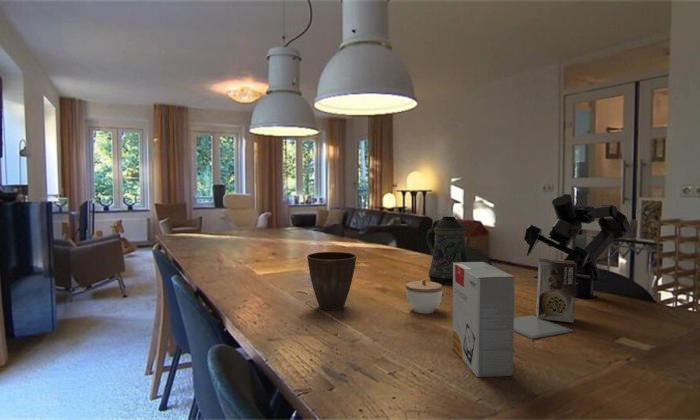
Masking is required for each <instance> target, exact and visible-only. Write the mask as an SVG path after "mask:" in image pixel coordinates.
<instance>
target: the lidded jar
mask: <svg viewBox="0 0 700 420" xmlns="http://www.w3.org/2000/svg"><path fill="white" fill-rule="evenodd" d="M421 280H422V281H421ZM421 280H417V281H410V282H407V283H406V284H405V294H406V300H407V303H408V305H409V307H410V308H411V309H412V311H413V312H414V313H418V314H432V313H434V312H435V311H436V309H438V308H439V306H440V304H441V301H442V295H443V294H442V293H443V285H441V284H439V283H435V282H431V281H430V280H429V281H427V280H426V279H425V278H422V279H421Z"/></svg>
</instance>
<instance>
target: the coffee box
mask: <svg viewBox="0 0 700 420" xmlns="http://www.w3.org/2000/svg"><path fill="white" fill-rule="evenodd" d="M537 270H538V271H537V290H536V307H535V309H536V310H535V314H536V315H535V316H536V317H537V318H538V319H544V320H547V321H556V322H565V323H574V321H575V319H574V318H575V300H576V297H575V283H576V263H575V262H574V261H570V260H564V259H556V258H555V259H554V258H541V257H540V258H538V269H537Z"/></svg>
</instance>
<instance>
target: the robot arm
mask: <svg viewBox="0 0 700 420" xmlns="http://www.w3.org/2000/svg"><path fill="white" fill-rule="evenodd" d="M551 204H552V207H553V210H554V213H555V216H556V221H555V222H554V223H553V225H552V227H551V228H552V229H551V230H550V231H549V233H548V234H549V236H548V235H546V234H543V233H542V231H543V229H542V228H540V227H537V226H535V225H533V224H529V225H528V226H527V227H526V230H525V233H524V234H525V235H524V238H523V240H524V241H525V242H526V244H527V245H528V250H527V253H526V256H527V257H528V256H530V255H531V254H532V252H533V251H534V249H536V247H537V244H538V243H539V241H540V242H541V243H543V244H546V245H547V247H550V248H552V249H554V250H556V251H557V252H559V253H562V254H564V255H566V257H565V258H564V259H563V260H570V261H574V262H575V263H576V283H575V298H578V299H579V298H580V299H583V300H584V299H592V298H598V295H596V294H594V286H595V285H594V283H595V281H599V280H600V277H601V271H600V269H599V268H598V266H597V263H596V262H597V259H599V258H600V257H601V255H602V254H603V253H604V251H605V250H606V249H607V248H608V247H609V245H611V244H612V243H613V241H614V240H616V239H620V238H623V237H624V236H625V235H627V233H629V231H630V229H631V224H630V221H629V219H628V218H627V216H626V215H625V214H624V213H622V212H621V211H619V210H618V208H617V206H616V205H614V204H613V205H612V204H601V205H597V206H591V205H575V204H574V201H573V198H572V194H571V193H569V194H566V193H565V194H562V196H561V195H560V196H558V197H556V198H553V199H552V201H551ZM595 219H596V220H597V219H598V221H597V223H598V226H599V227H600V231H599V232H598V233H597V235H596V236H594V237H593V239H592V240H591V241H590V242H589V243H588V244H587V245H586V246H585V248H582V247H580V246H578V245H576V246H575V247H574V248H573V249H572V248H570V247H568V246H569V245H570V244H571V242H572V241H573V239H576V238H577V237H578V235H580V236H583V228H582V227H583V224H587V225H589V224H591V223H594V222H595Z"/></svg>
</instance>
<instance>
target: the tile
mask: <svg viewBox="0 0 700 420" xmlns="http://www.w3.org/2000/svg"><path fill="white" fill-rule="evenodd" d="M574 332H575V330H574V329H571V328H568V327H566V326H563V325H561V324H557V323H554V322H553V321H552V322H551V321H550V320H546V319H538V318H537V315H532V314H530V315H524V316H517V317H514V333H516V334H517V335H521V336H523V337H525V338H528V339H530V340H535V339H540V338H546V337H553V336H557V335H563V334H569V333H574Z"/></svg>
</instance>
